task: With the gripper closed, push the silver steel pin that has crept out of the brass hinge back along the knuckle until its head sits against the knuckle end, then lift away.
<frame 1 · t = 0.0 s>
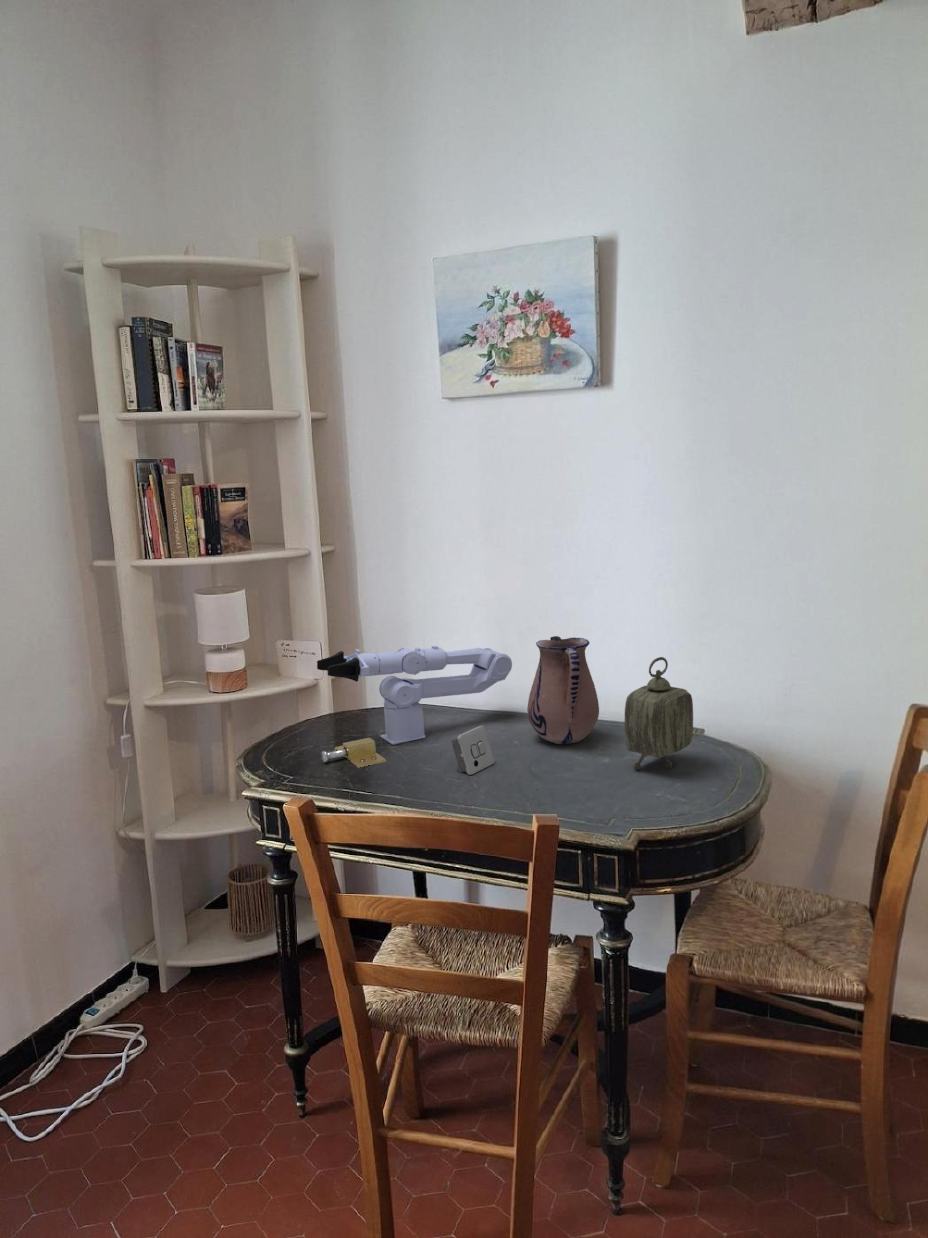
hand: (322, 668, 222), 22 cm above the table, tool horizontal, fingers open, 7 cm apart
hinge pin: (340, 753, 221), point 2 cm above the table, slide at 4.5 cm
hinge leaves: (359, 755, 223), on the table
ceramic pitcher: (567, 741, 226), on the table
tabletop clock: (661, 767, 206), on the table
electrical switch: (473, 769, 211), on the table
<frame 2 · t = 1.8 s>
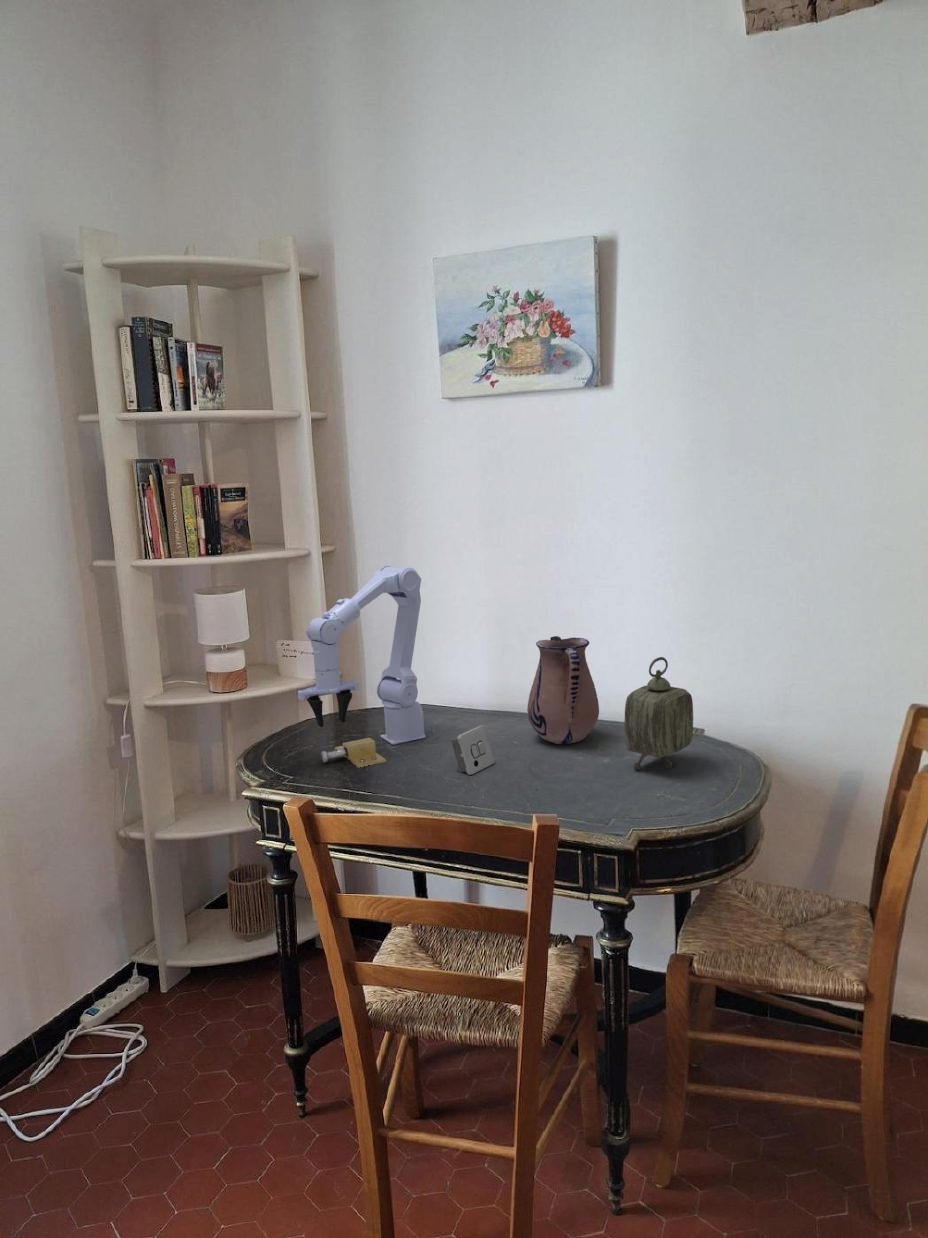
hand: (331, 723, 219), 9 cm above the table, tool pointing down, fingers open, 5 cm apart
nothing on the table moved.
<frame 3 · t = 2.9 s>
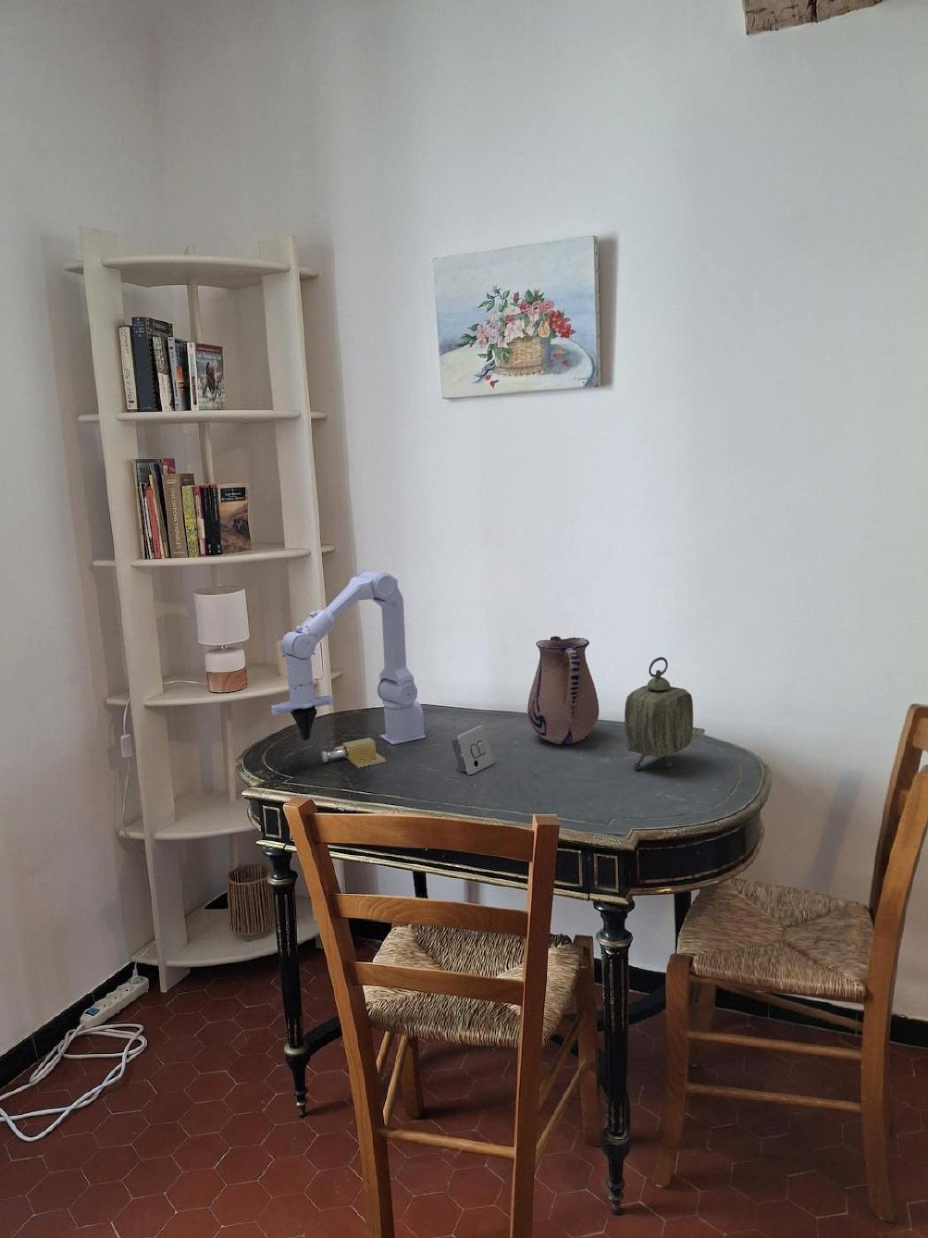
hand: (305, 738, 216), 7 cm above the table, tool pointing down, fingers closed
nothing on the table moved.
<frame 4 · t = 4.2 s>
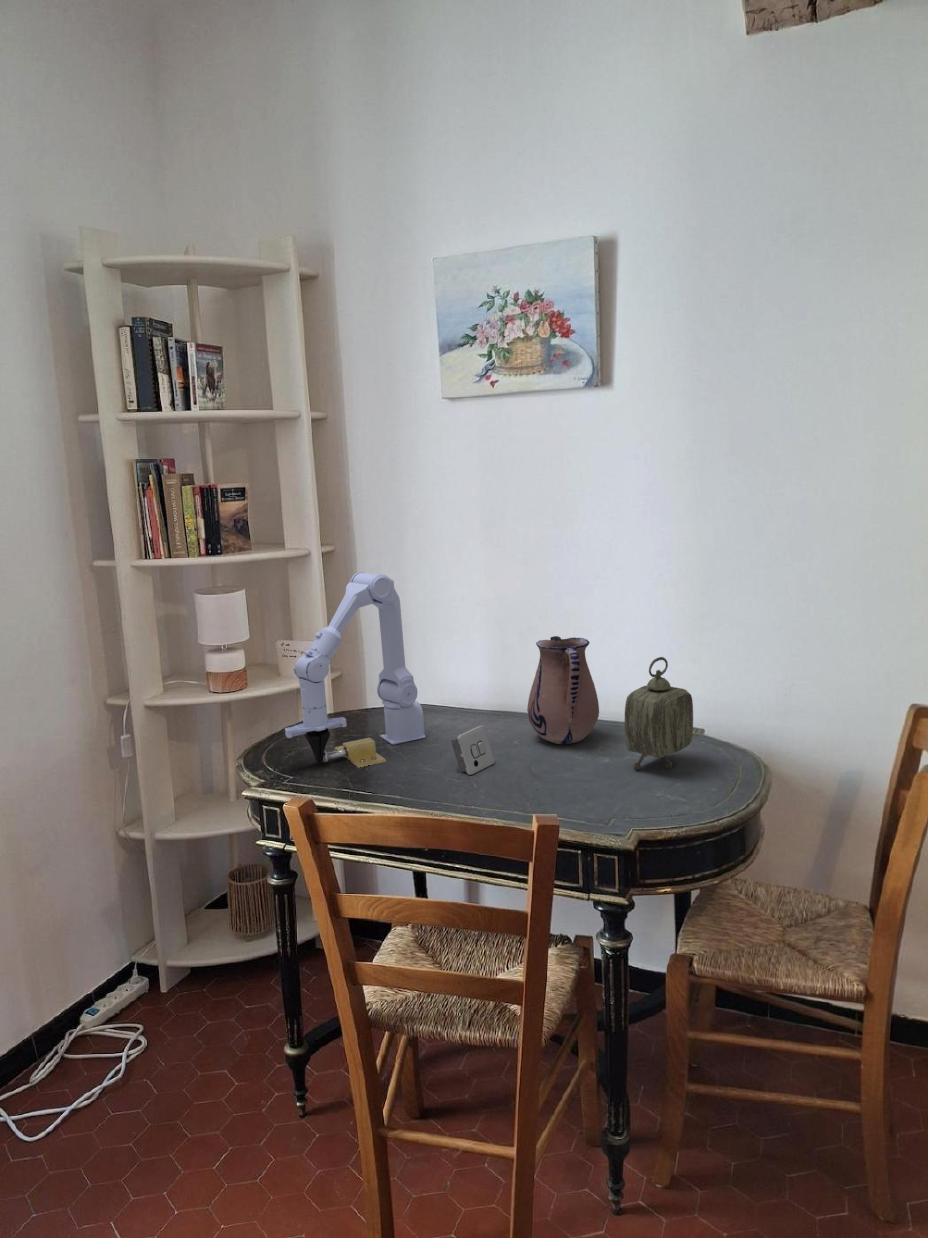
hand: (319, 760, 218), 1 cm above the table, tool pointing down, fingers closed
hinge pin: (340, 753, 221), point 2 cm above the table, slide at 4.5 cm, touching gripper
everything else where it was.
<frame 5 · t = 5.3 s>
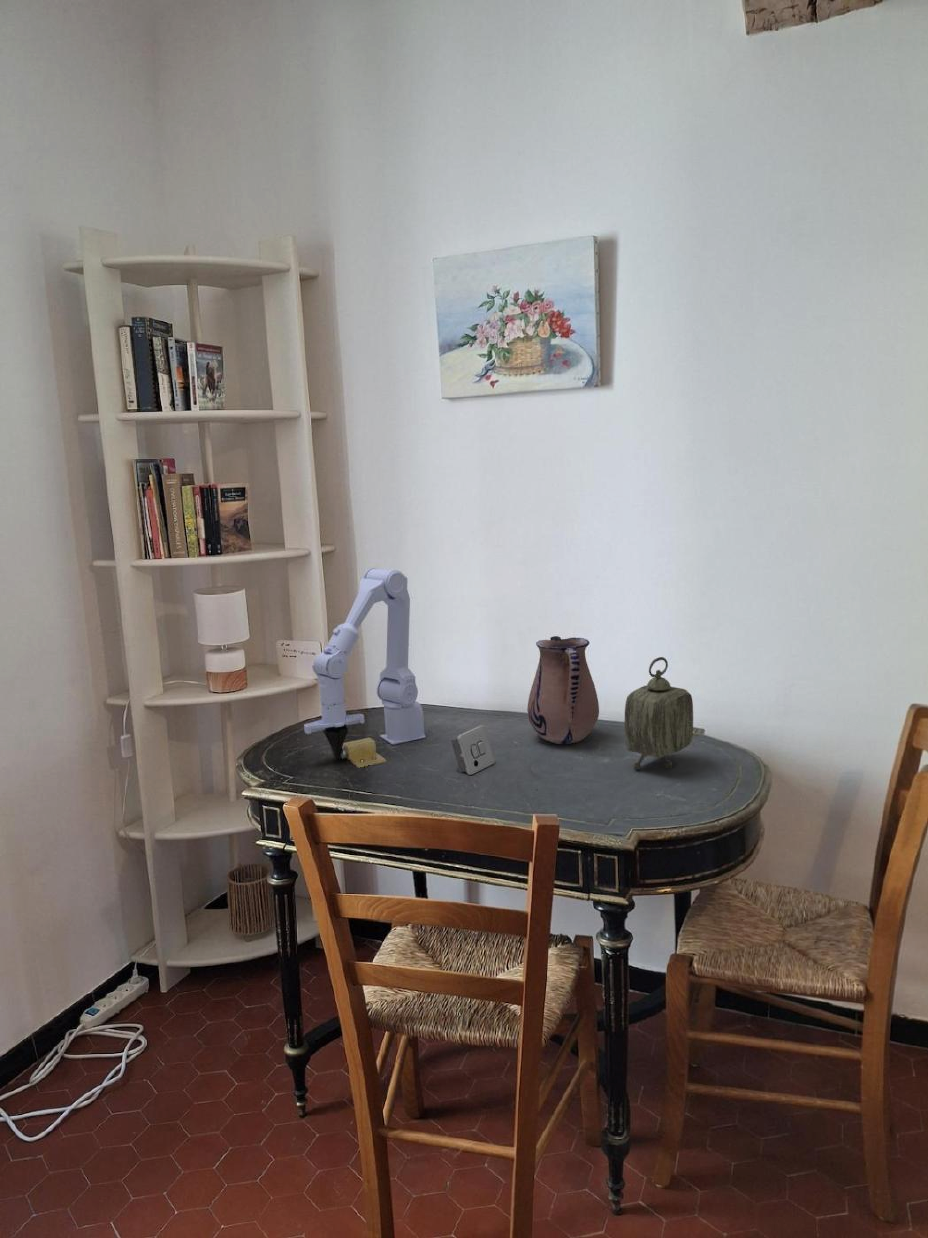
hand: (337, 756, 220), 1 cm above the table, tool pointing down, fingers closed
hinge pin: (358, 749, 223), point 2 cm above the table, slide at 0.0 cm, touching gripper
everything else where it was.
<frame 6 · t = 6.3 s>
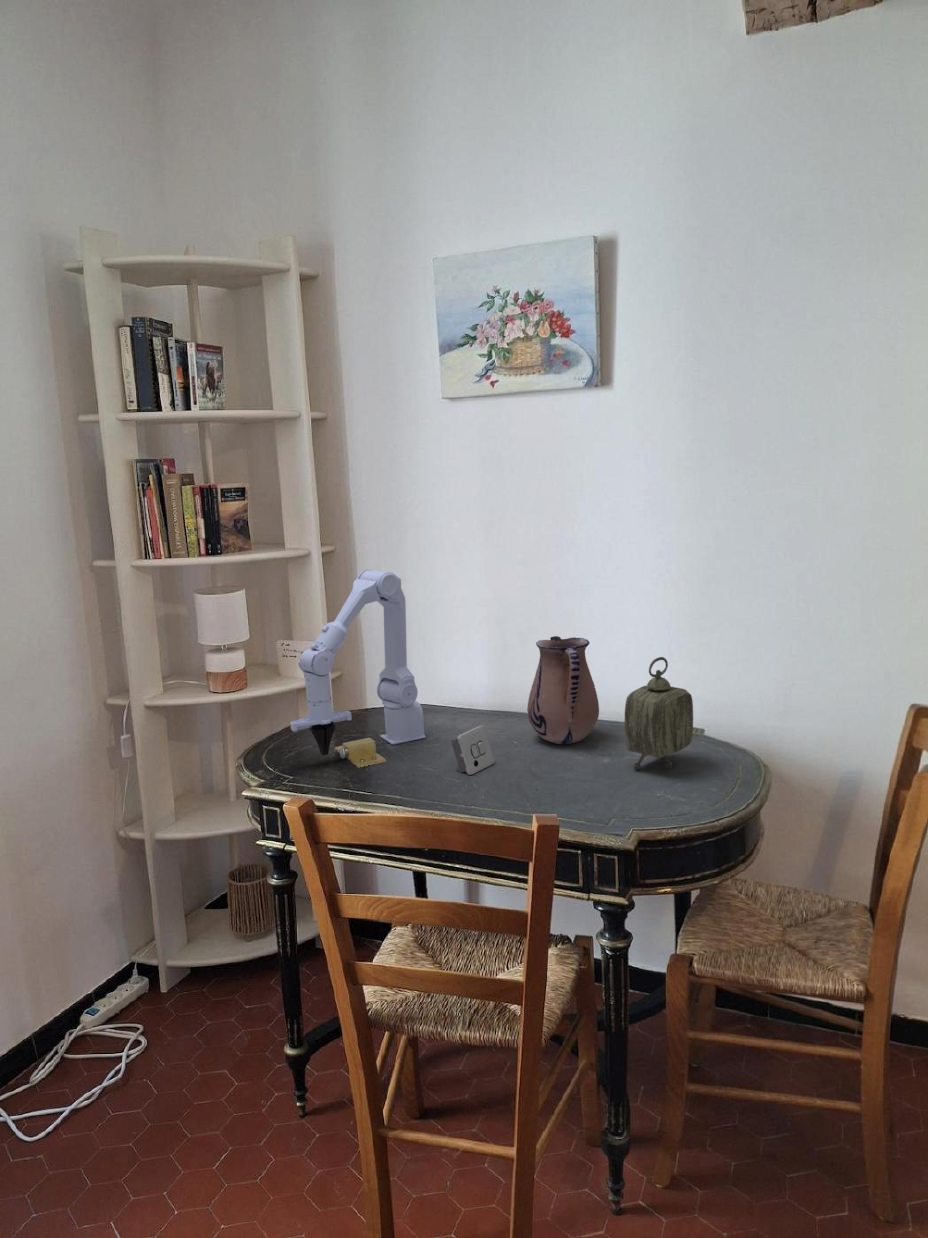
hand: (324, 753, 219), 2 cm above the table, tool pointing down, fingers closed
hinge pin: (358, 749, 223), point 2 cm above the table, slide at 0.0 cm
everything else where it was.
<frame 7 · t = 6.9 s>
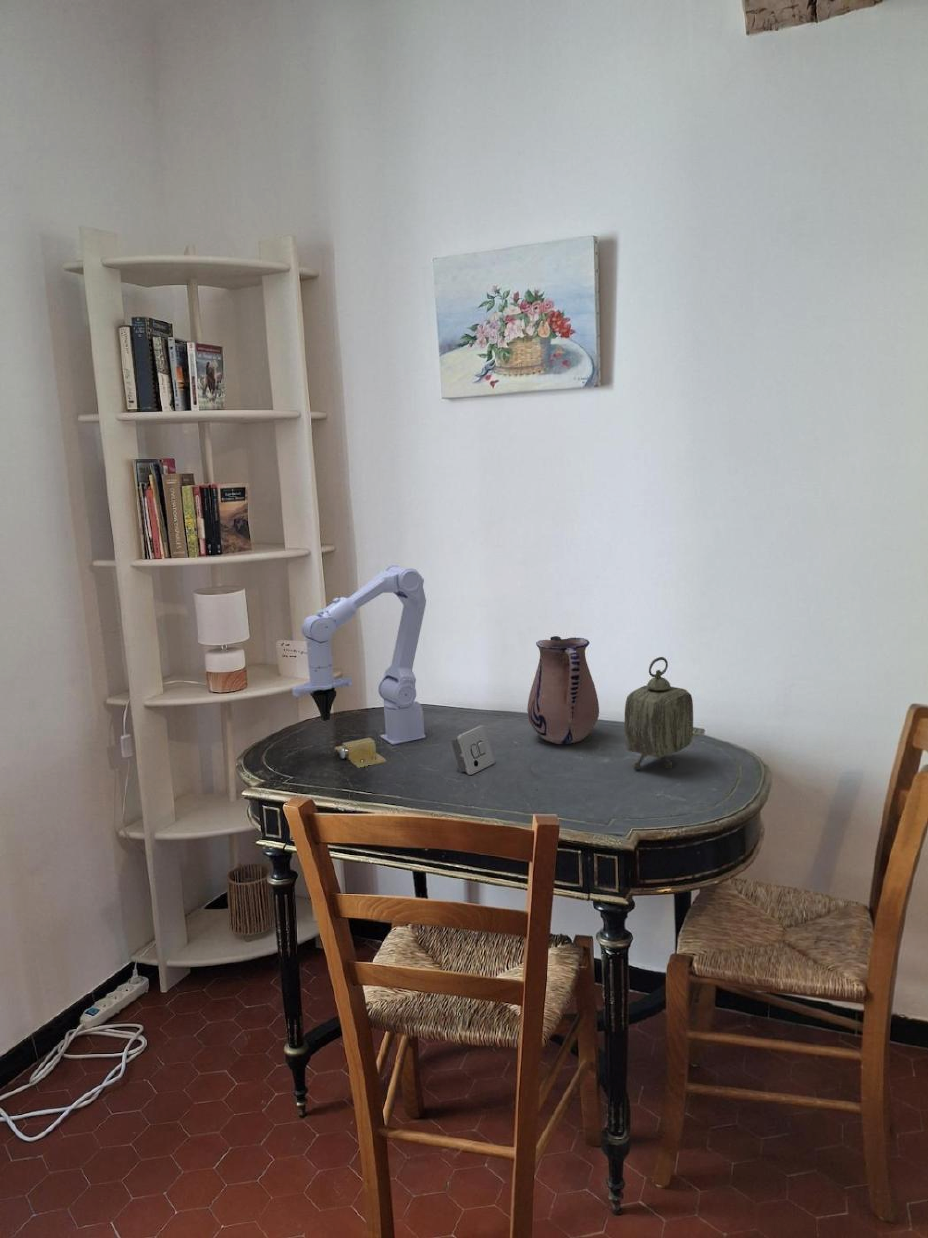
hand: (325, 719, 222), 9 cm above the table, tool pointing down, fingers closed
nothing on the table moved.
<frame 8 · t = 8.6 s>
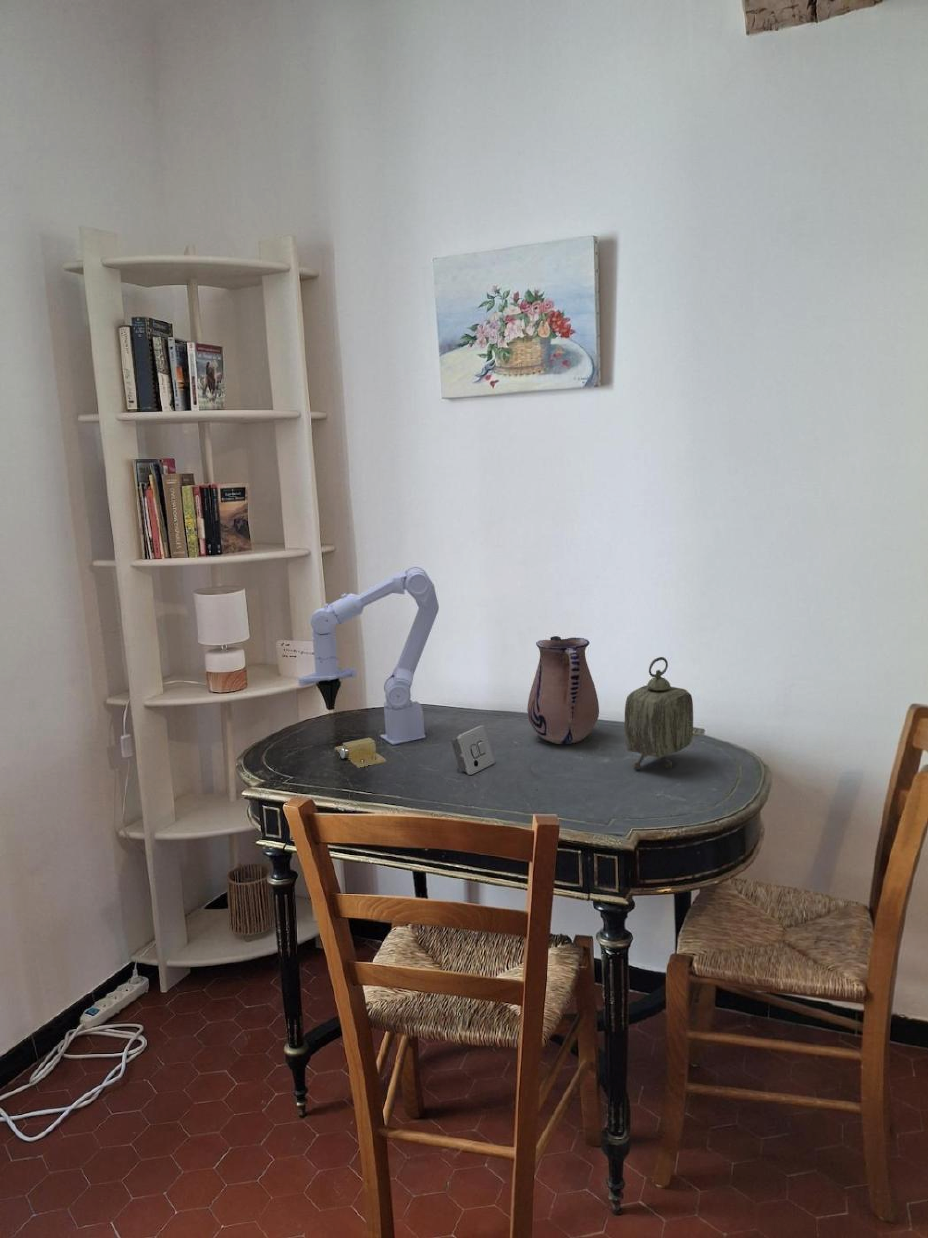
hand: (330, 709, 231), 9 cm above the table, tool pointing down, fingers closed
nothing on the table moved.
at the end: hinge pin slide at 0.0 cm; hinge pin touching nothing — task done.
